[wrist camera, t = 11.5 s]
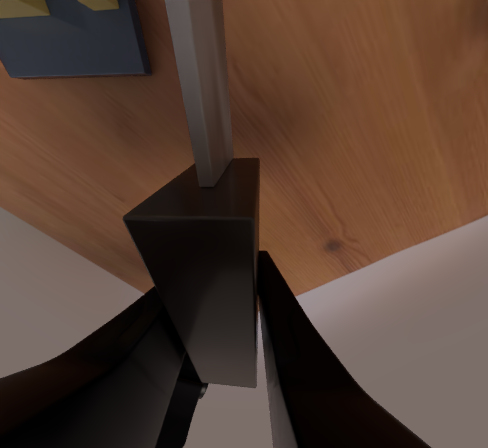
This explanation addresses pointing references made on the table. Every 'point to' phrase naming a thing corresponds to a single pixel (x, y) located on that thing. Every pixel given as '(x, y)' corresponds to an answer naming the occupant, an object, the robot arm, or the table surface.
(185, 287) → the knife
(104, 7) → the butter slice
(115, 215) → the table surface
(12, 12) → the butter block
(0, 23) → the butter dish
